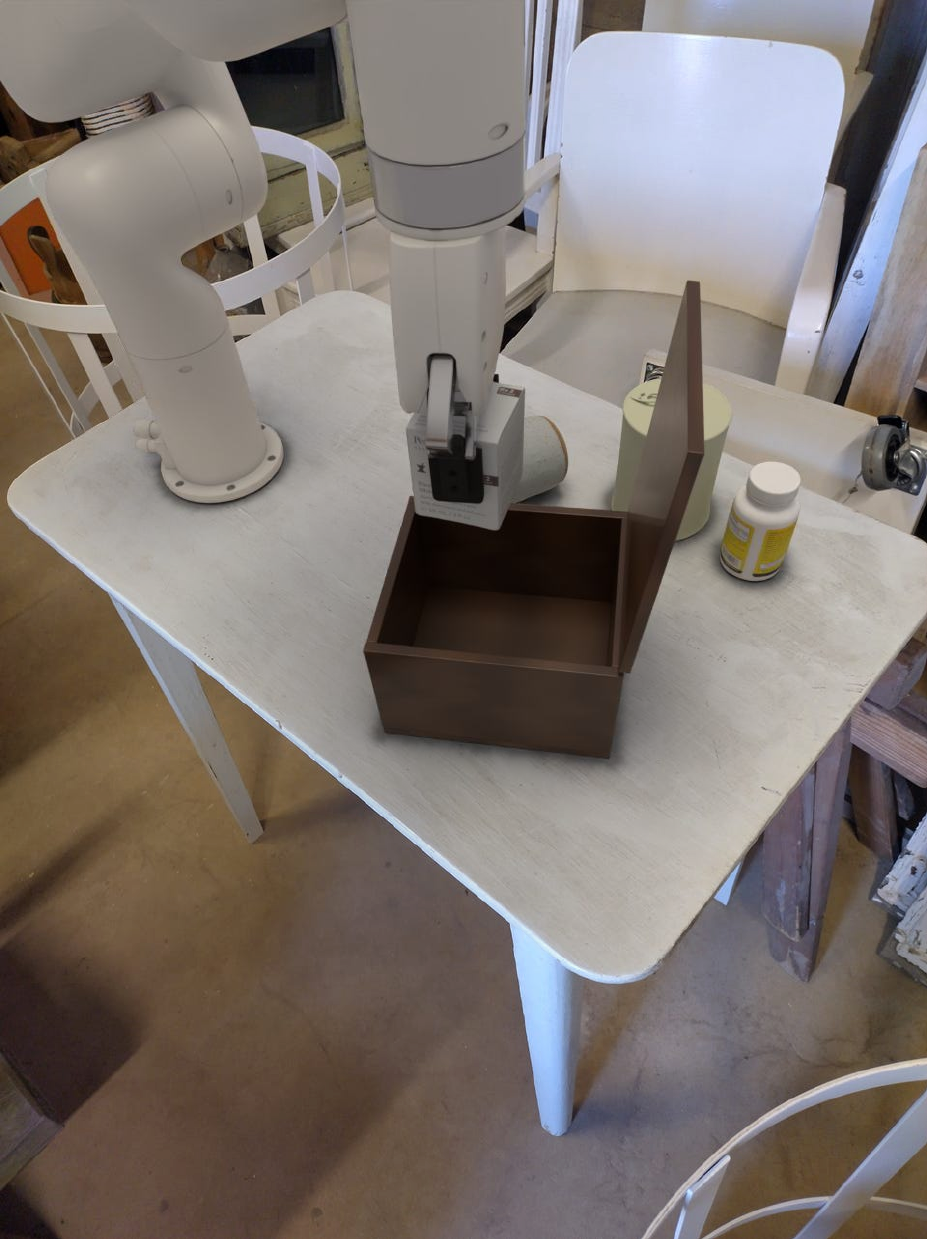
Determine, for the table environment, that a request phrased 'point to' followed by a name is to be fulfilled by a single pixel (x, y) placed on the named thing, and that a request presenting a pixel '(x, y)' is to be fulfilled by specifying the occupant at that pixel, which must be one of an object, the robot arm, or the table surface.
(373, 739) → the table surface
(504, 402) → the white cardboard box
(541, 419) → the ceramic mug
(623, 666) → the lid
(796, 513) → the supplement bottle
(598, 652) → the chest
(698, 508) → the can
